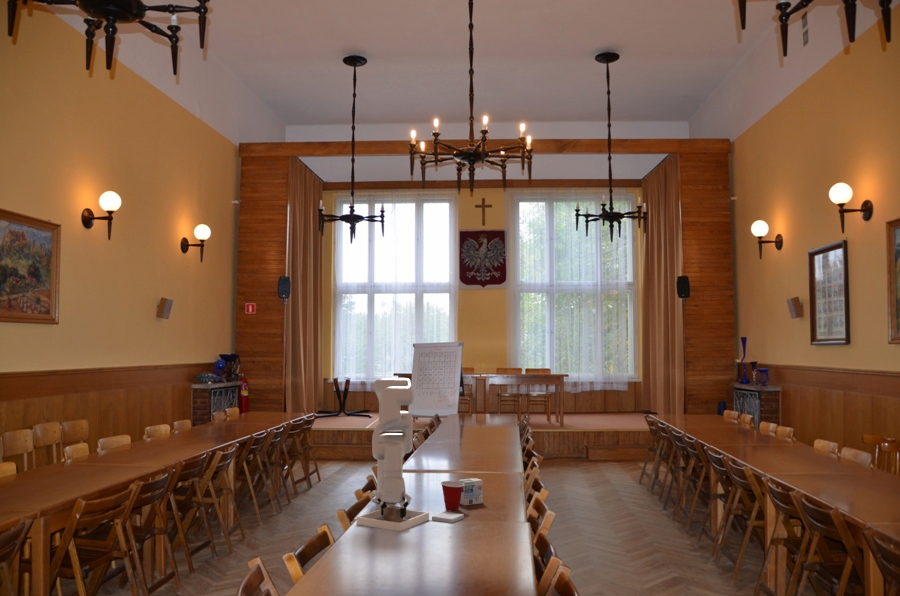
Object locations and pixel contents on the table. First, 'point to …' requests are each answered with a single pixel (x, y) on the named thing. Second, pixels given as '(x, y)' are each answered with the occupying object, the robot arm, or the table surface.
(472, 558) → the table surface
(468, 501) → the light bulb box
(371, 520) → the beige square frame
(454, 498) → the plastic cup
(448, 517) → the display stand
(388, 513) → the walnut block
